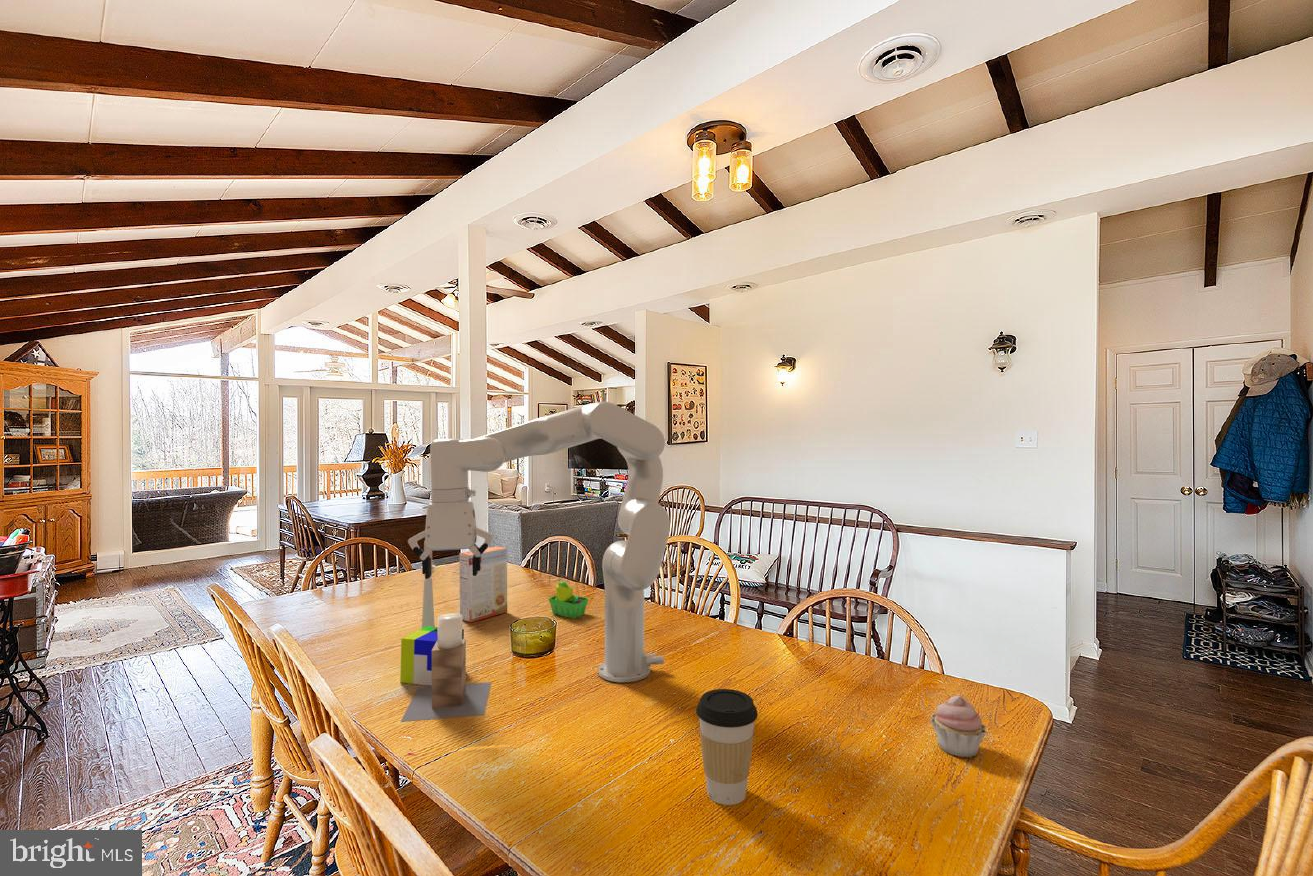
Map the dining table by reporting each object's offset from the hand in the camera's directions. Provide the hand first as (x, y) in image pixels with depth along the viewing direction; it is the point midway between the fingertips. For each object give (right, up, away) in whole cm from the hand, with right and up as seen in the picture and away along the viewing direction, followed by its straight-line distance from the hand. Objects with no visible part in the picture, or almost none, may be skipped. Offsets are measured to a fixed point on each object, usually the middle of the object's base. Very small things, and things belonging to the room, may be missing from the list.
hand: (452, 575), depth 126 cm
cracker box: (-11, -27, +59) cm, 66 cm away
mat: (-1, -27, 0) cm, 27 cm away
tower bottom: (-1, -27, 0) cm, 27 cm away
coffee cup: (+55, -28, -31) cm, 69 cm away
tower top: (-1, -21, 0) cm, 21 cm away
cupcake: (+99, -28, -18) cm, 105 cm away
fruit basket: (+15, -27, +61) cm, 68 cm away
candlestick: (-16, -27, +28) cm, 42 cm away
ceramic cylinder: (0, -15, 0) cm, 15 cm away
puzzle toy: (-9, -27, +13) cm, 31 cm away
